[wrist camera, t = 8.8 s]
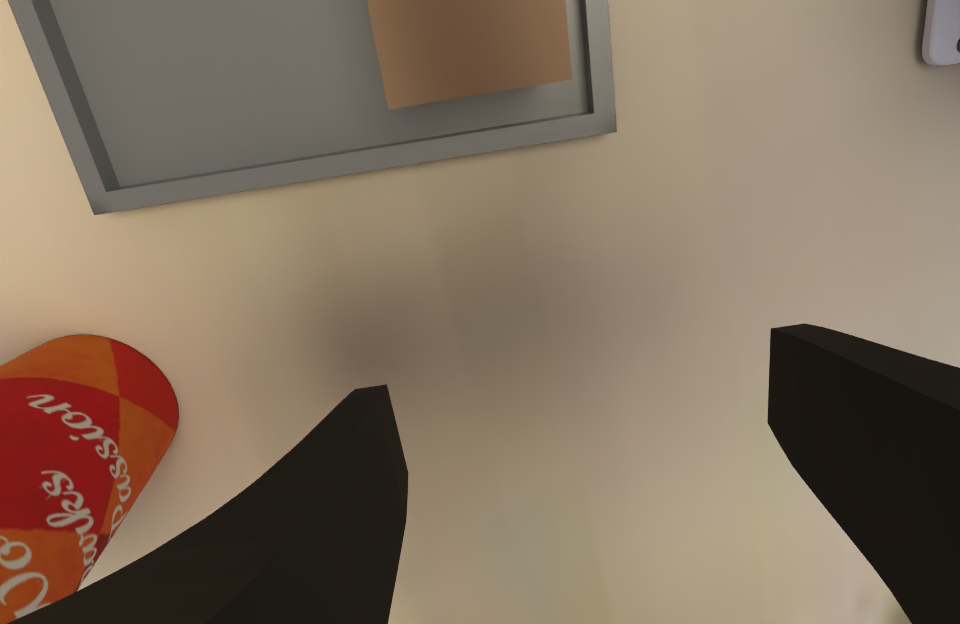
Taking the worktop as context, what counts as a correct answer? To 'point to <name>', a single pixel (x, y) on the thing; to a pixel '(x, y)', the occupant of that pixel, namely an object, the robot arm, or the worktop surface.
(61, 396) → the paper cup
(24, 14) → the parts tray
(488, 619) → the worktop surface
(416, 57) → the walnut block
